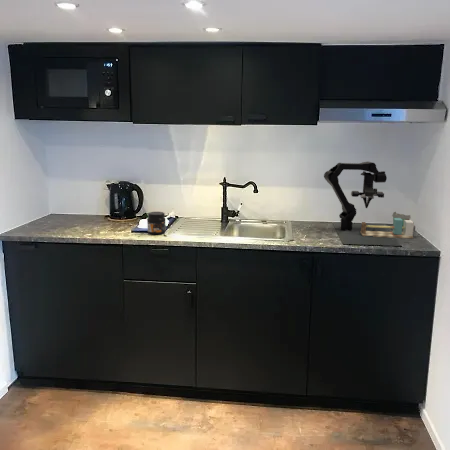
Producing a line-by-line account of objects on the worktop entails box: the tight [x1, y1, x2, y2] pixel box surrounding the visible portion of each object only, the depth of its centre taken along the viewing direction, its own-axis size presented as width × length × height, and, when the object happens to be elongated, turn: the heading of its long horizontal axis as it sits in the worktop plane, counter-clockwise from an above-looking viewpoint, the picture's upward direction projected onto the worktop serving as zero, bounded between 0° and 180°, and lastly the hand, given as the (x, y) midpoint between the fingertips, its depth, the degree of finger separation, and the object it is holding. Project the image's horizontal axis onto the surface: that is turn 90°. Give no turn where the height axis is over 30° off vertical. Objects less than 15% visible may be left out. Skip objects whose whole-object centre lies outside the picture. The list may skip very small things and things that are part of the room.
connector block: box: [402, 219, 416, 237], centre depth 274 cm, size 6×7×8 cm
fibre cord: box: [366, 224, 405, 229], centre depth 276 cm, size 23×1×1 cm, turn 82°
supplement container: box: [146, 211, 166, 236], centre depth 275 cm, size 10×10×12 cm
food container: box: [391, 211, 412, 232], centre depth 290 cm, size 12×6×10 cm, turn 27°
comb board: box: [359, 221, 414, 239], centre depth 277 cm, size 28×10×7 cm, turn 82°
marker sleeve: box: [391, 218, 403, 235], centre depth 275 cm, size 4×6×8 cm, turn 172°
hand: (366, 208), depth 290 cm, fingers closed
